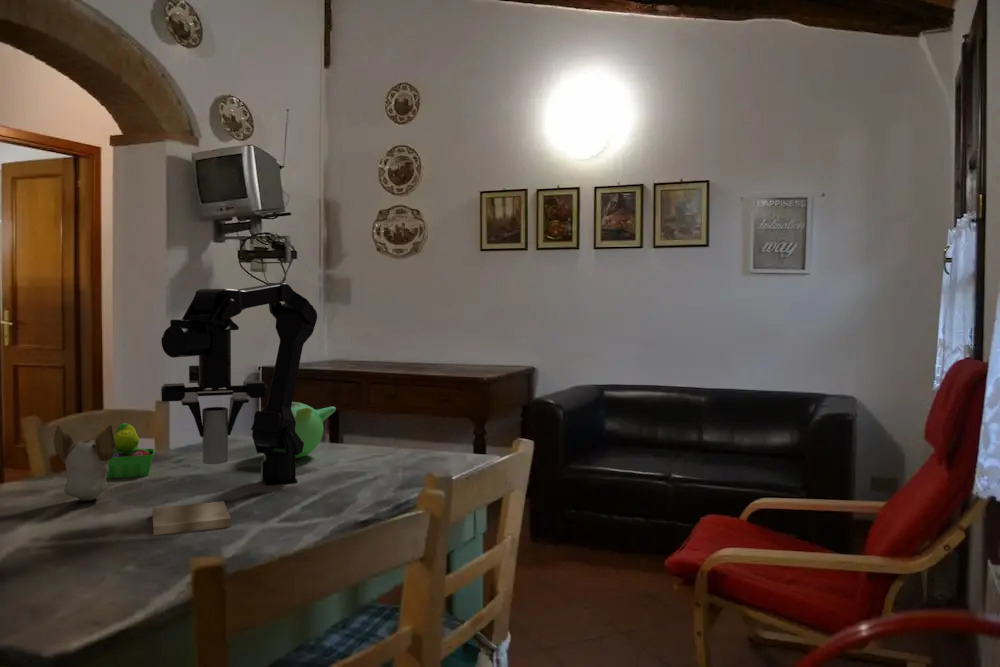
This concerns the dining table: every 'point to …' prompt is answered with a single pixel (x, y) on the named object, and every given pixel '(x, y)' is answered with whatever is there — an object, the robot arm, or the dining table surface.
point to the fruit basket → (129, 455)
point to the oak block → (190, 518)
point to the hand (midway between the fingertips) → (215, 435)
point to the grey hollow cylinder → (215, 435)
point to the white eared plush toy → (85, 463)
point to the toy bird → (309, 425)
